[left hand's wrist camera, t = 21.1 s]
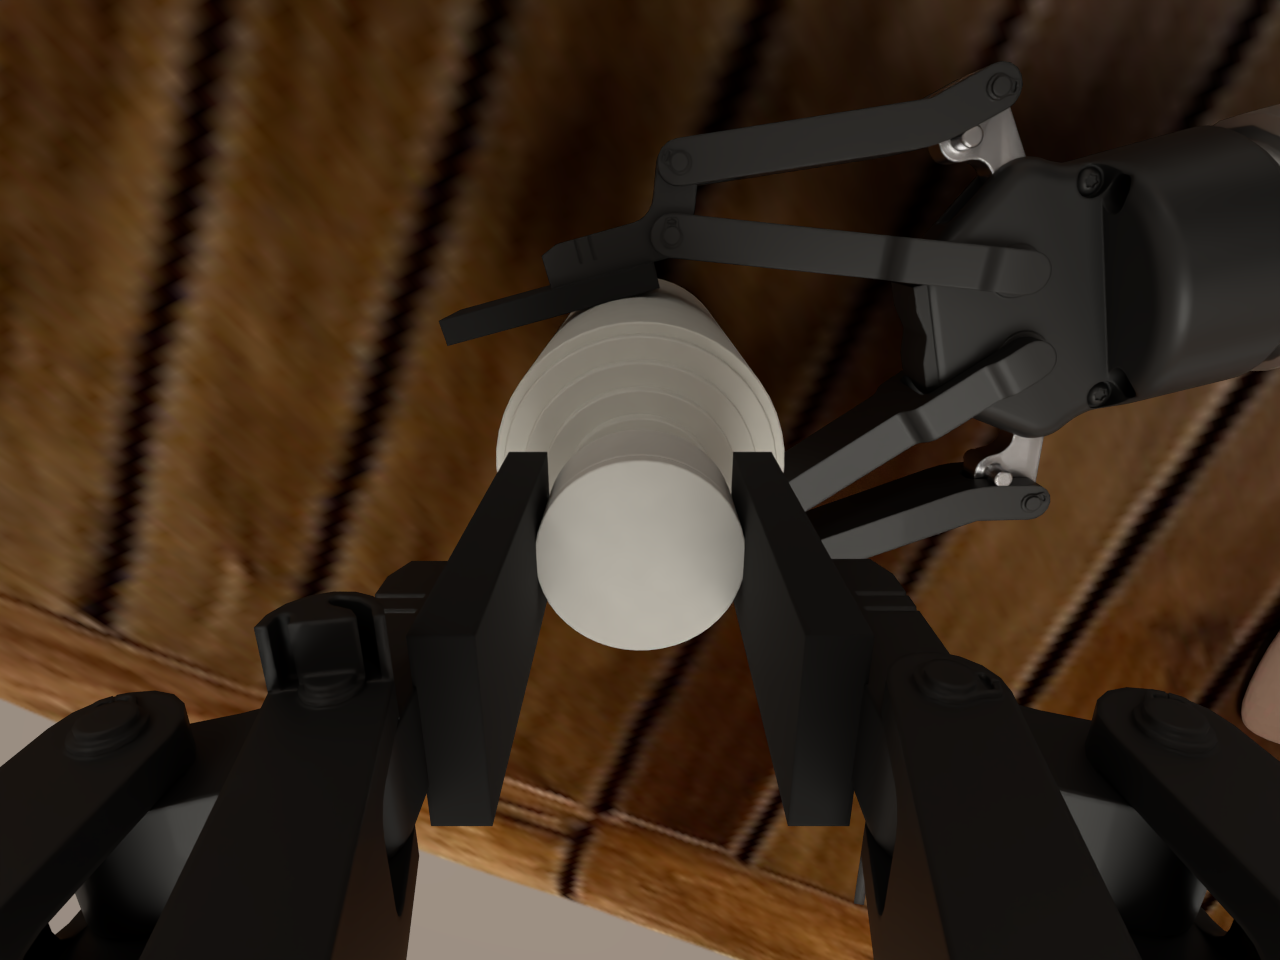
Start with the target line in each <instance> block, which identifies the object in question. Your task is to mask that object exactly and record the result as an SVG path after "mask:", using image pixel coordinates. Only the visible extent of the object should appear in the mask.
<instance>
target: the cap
mask: <svg viewBox="0 0 1280 960" xmlns="http://www.w3.org/2000/svg"><path fill="white" fill-rule="evenodd" d="M744 548H745V538H744V534H743V530H742V526H741V523H740V520H739V517H738V514H737V511H736V508H735V505H734V502H733V499H732V496H731V493H730V490H729V487H728V485H727V483H726V480H725V478H724V476H723V475H722V473H721V471H720V470H719V468H718V467H717V466H716V465H715V463H714V462H713V461H712V460H711V459H710V458H709V457H708V456H707V455H706V454H705V453H704V452H703V451H702V450H700V449H699V448H698V447H696V446H695V445H693V444H692V443H690V442H688V441H686V440H684V439H682V438H680V437H677V436H675V435H672V434H669V433H665V432H661V431H656V430H646V429H637V430H626V431H619V432H616V433H612V434H609V435H606V436H603V437H601V438H599V439H596V440H594V441H593V442H591V443H589V444H588V445H586V446H584V447H583V448H582V449H581V450H579V451H578V452H577V453H575V454H574V455H573V456H572V457H571V459H570V460H569V461H568V462H567V463H566V464H565V465H564V467H563V468H562V470H561V471H560V472H559V474H558V476H557V478H556V480H555V482H554V484H553V487H552V490H551V492H550V495H549V498H548V502H547V505H546V508H545V511H544V514H543V517H542V520H541V523H540V526H539V529H538V533H537V537H536V558H537V574H538V581H539V583H540V586H541V588H542V591H543V593H544V595H545V597H546V598H547V600H548V602H549V604H550V605H551V606H552V608H553V609H554V610H555V612H556V613H557V614H558V615H559V616H560V617H561V618H562V619H563V620H564V621H565V622H566V623H567V624H568V625H570V626H571V627H572V628H573V629H575V630H576V631H578V632H579V633H581V634H582V635H584V636H586V637H588V638H590V639H592V640H594V641H596V642H598V643H601V644H605V645H608V646H611V647H616V648H620V649H628V650H653V649H661V648H665V647H669V646H673V645H677V644H679V643H682V642H685V641H687V640H689V639H691V638H693V637H695V636H697V635H699V634H700V633H702V632H703V631H705V630H706V629H708V628H709V627H710V626H711V625H712V624H714V623H715V622H716V621H717V620H718V619H719V618H720V617H721V616H722V615H723V614H724V612H725V611H726V610H727V609H728V607H729V606H730V604H731V603H732V601H733V600H734V598H735V596H736V594H737V592H738V590H739V588H740V585H741V582H742V579H743V567H744Z"/></svg>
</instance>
